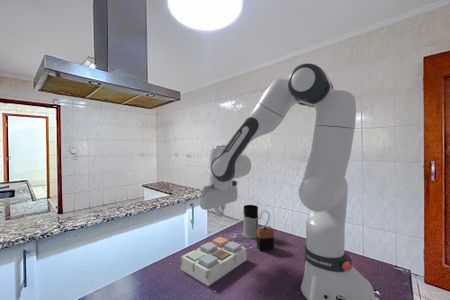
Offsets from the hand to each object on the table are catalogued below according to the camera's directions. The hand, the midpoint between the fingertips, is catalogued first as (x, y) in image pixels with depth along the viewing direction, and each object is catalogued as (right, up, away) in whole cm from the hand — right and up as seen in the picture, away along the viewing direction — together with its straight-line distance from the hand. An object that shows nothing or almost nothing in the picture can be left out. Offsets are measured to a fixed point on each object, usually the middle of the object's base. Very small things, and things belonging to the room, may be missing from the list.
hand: (219, 215), depth 93 cm
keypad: (-2, -17, -7) cm, 19 cm away
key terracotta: (0, -14, 0) cm, 14 cm away
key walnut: (+1, -15, -10) cm, 18 cm away
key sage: (-9, -15, -10) cm, 20 cm away
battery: (+21, -17, +6) cm, 28 cm away
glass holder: (+18, -17, +20) cm, 32 cm away
